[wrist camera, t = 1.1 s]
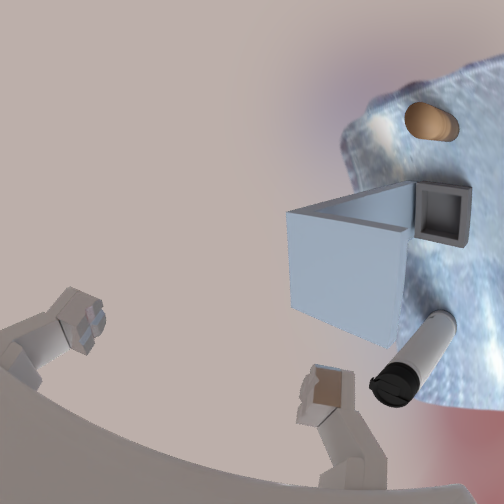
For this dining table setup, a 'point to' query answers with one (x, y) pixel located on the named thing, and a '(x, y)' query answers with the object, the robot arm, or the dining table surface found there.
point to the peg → (431, 123)
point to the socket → (443, 213)
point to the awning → (353, 259)
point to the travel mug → (414, 361)
